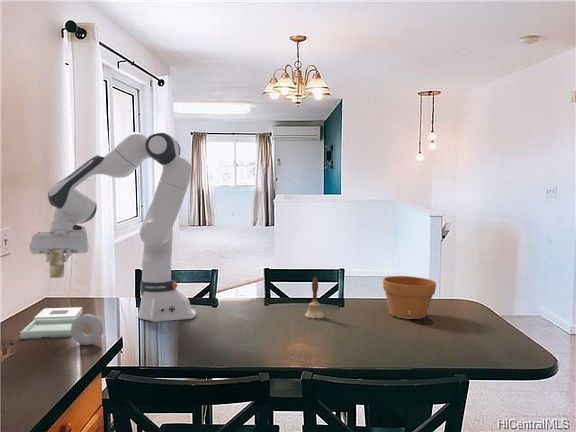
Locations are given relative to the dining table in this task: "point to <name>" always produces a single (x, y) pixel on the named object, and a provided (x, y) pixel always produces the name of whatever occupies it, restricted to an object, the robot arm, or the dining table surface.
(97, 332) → the donut
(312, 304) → the hand bell
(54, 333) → the tray
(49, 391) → the dining table surface
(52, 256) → the maple block
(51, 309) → the pocket plate
